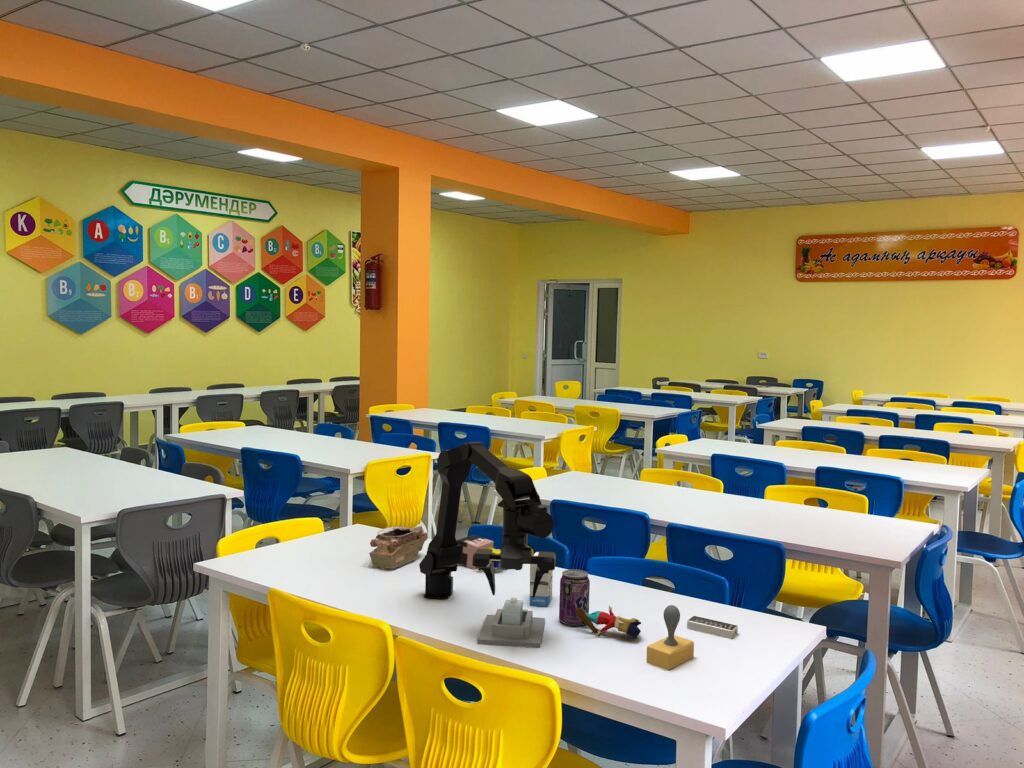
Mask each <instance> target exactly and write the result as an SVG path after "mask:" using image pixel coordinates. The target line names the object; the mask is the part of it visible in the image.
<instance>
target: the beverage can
mask: <svg viewBox="0 0 1024 768" xmlns="http://www.w3.org/2000/svg"><path fill="white" fill-rule="evenodd" d="M561 573H562V575H561V578H560V580H559V605H558V606H559V607H558V609H559V611H558V613H559V614H558V615H559V616H558V618H559V619H558V620H559V621H560V622H561V623H564V624H565V625H568V626H571V627H577V626H582V625H584V624H583V623H582V622H581V621H582V620H581V619H580V618H579V617H578V616H577V615H576V609H575V607H577V609H578V608H581V609H583V611H584V612H585V613H589V614H590V589H591V587H590V585H591V583H590V579H589V573H588V572H587V571H585V570H581V569H576V568H575V569H573V568H571V569H565V570H563V571H561Z"/></svg>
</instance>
